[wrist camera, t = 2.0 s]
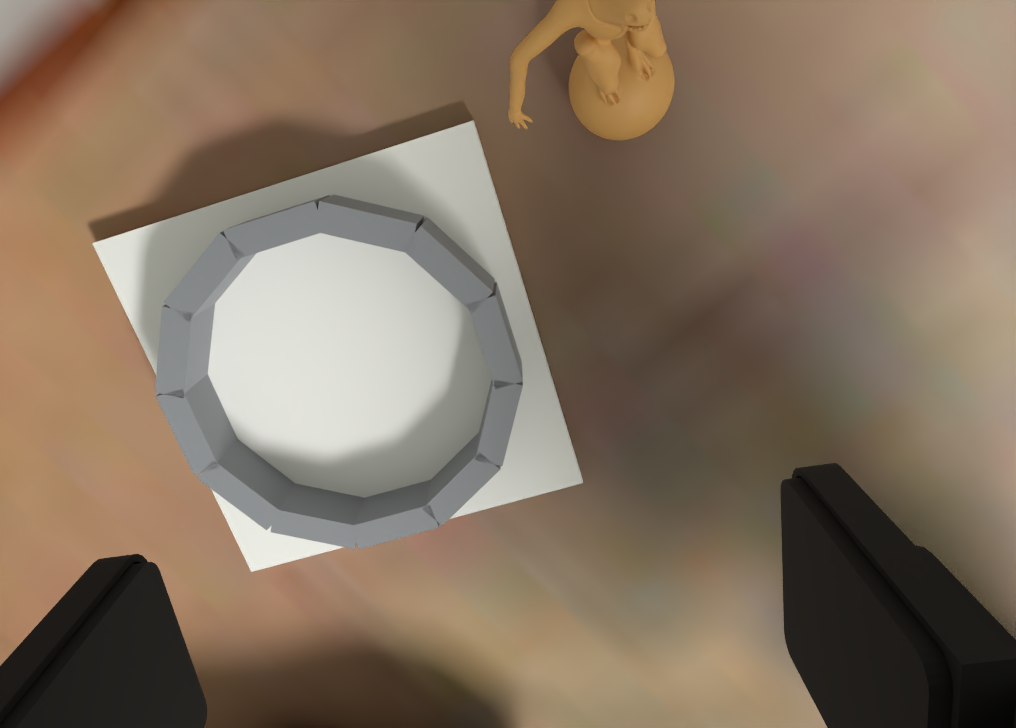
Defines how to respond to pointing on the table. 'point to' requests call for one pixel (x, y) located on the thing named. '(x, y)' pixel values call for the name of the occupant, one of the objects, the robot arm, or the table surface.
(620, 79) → the figurine
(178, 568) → the table surface
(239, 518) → the ring stand
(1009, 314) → the table surface
